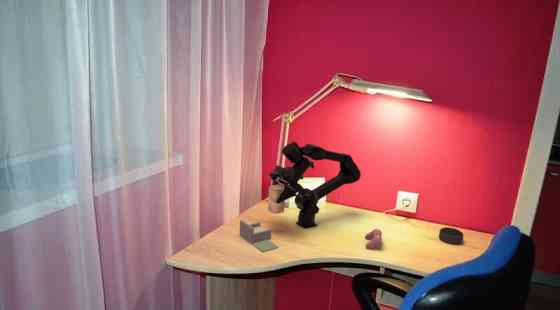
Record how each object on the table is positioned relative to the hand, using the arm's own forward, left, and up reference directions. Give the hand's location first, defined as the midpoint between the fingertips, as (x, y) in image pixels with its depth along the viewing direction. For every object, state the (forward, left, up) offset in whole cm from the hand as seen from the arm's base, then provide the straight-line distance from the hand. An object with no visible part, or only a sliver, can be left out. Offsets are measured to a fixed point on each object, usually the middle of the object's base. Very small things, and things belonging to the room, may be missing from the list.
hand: (273, 200), depth 154 cm
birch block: (-1, 0, -5) cm, 5 cm away
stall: (+7, 0, -13) cm, 15 cm away
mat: (+9, +8, -13) cm, 18 cm away
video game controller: (-28, +27, -14) cm, 42 cm away
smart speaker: (-59, +40, -14) cm, 73 cm away
